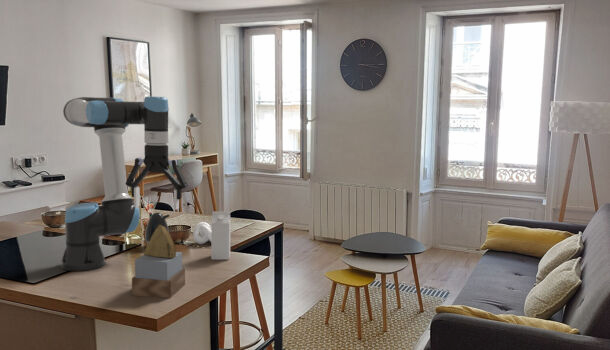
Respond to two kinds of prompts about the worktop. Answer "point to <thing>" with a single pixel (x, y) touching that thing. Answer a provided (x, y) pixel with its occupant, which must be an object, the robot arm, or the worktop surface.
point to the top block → (158, 267)
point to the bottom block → (158, 286)
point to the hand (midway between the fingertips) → (156, 208)
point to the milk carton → (220, 236)
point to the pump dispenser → (155, 224)
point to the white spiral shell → (202, 233)
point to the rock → (161, 244)
